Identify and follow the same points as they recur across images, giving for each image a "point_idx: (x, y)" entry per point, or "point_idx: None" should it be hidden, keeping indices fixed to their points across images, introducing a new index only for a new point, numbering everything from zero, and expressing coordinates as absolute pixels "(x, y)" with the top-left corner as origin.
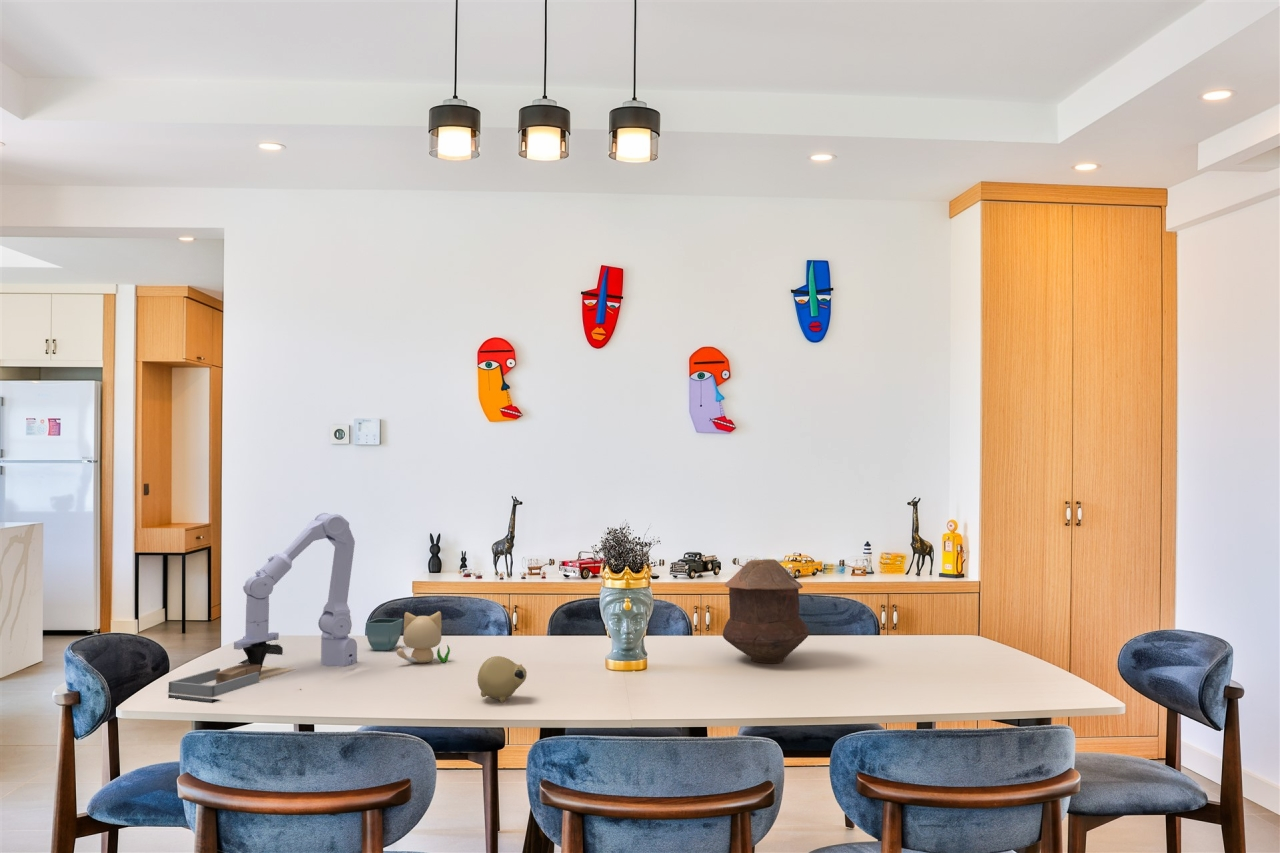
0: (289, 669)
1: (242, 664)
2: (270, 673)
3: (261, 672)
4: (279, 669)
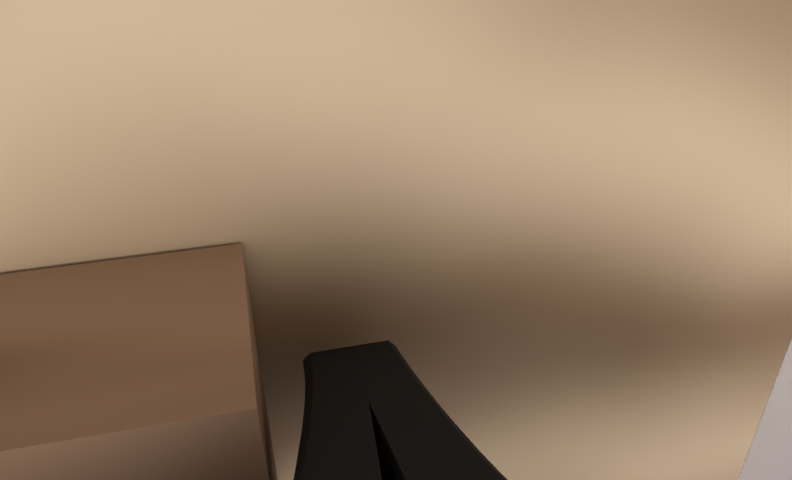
0: (708, 467)
1: (94, 472)
2: None
3: (472, 339)
4: (695, 387)
